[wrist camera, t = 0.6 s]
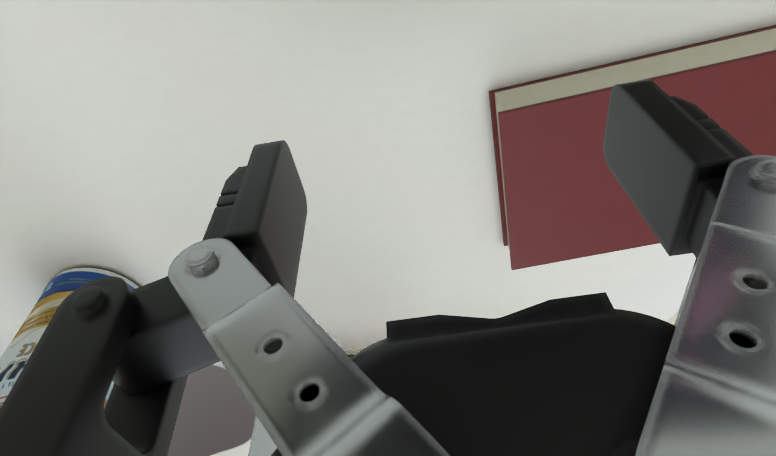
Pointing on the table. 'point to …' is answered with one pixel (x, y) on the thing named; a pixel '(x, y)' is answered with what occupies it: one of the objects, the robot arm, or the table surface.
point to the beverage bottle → (44, 323)
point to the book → (586, 136)
